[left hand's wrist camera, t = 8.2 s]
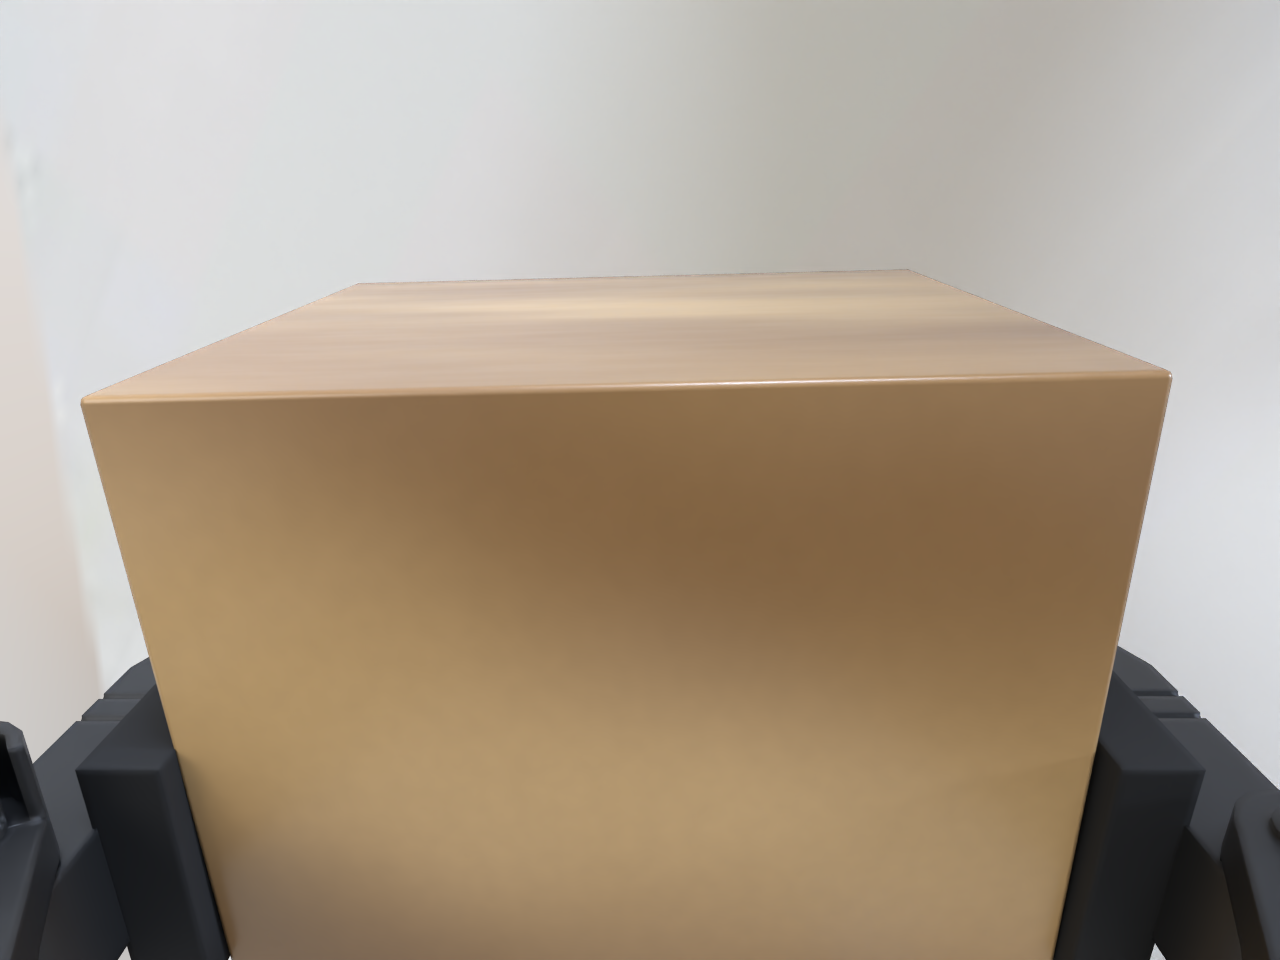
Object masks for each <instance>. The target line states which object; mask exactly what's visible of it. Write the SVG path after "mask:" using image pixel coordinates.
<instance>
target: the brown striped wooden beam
mask: <svg viewBox="0 0 1280 960" xmlns="http://www.w3.org/2000/svg"><path fill="white" fill-rule="evenodd" d="M1171 382H1172V374H1171V372H1170V371H1168V370H1165V369H1163V368H1160V367H1157V366H1155V365H1152V364H1150V363H1147V362H1145V361H1142V360H1139V359H1137V358H1134V357H1132V356H1129V355H1127V354H1124V353H1121V352H1119V351H1116V350H1114V349H1111V348H1109V347H1106V346H1103V345H1101V344H1098V343H1096V342H1093V341H1091V340H1088V339H1085V338H1083V337H1080V336H1078V335H1075V334H1073V333H1070V332H1067V331H1065V330H1062V329H1060V328H1057V327H1055V326H1052V325H1049V324H1047V323H1044V322H1042V321H1039V320H1037V319H1034V318H1031V317H1029V316H1026V315H1024V314H1021V313H1019V312H1016V311H1013V310H1011V309H1008V308H1006V307H1003V306H1001V305H998V304H995V303H993V302H990V301H988V300H985V299H983V298H980V297H977V296H975V295H972V294H970V293H967V292H965V291H962V290H959V289H957V288H954V287H952V286H949V285H946V284H944V283H941V282H939V281H936V280H934V279H931V278H928V277H926V276H923V275H921V274H918V273H916V272H913V271H910V270H908V269H905V270H866V271H826V272H787V273H748V274H709V275H670V276H631V277H592V278H553V279H514V280H474V281H435V282H396V283H358V284H356V285H353V286H351V287H348V288H346V289H344V290H341V291H339V292H336V293H334V294H332V295H329V296H327V297H324V298H322V299H319V300H317V301H315V302H312V303H310V304H307V305H305V306H303V307H300V308H298V309H295V310H293V311H290V312H288V313H286V314H283V315H281V316H278V317H276V318H274V319H271V320H269V321H266V322H264V323H261V324H259V325H257V326H254V327H252V328H249V329H247V330H245V331H242V332H240V333H237V334H235V335H232V336H230V337H228V338H225V339H223V340H220V341H218V342H215V343H213V344H211V345H208V346H206V347H203V348H201V349H199V350H196V351H194V352H191V353H189V354H186V355H184V356H182V357H179V358H177V359H174V360H172V361H170V362H167V363H165V364H162V365H160V366H157V367H155V368H153V369H150V370H148V371H145V372H143V373H141V374H138V375H136V376H133V377H131V378H128V379H126V380H124V381H121V382H119V383H116V384H114V385H112V386H109V387H107V388H104V389H102V390H99V391H97V392H95V393H92V394H90V395H87V396H85V397H83V398H82V399H81V408H82V412H83V415H84V419H85V423H86V426H87V430H88V434H89V437H90V441H91V445H92V448H93V452H94V456H95V460H96V463H97V467H98V471H99V474H100V478H101V482H102V485H103V489H104V493H105V496H106V500H107V504H108V507H109V511H110V515H111V518H112V522H113V526H114V529H115V533H116V537H117V540H118V544H119V548H120V551H121V555H122V559H123V562H124V566H125V570H126V573H127V577H128V581H129V584H130V588H131V592H132V596H133V599H134V603H135V607H136V610H137V614H138V618H139V621H140V625H141V629H142V632H143V636H144V640H145V643H146V647H147V651H148V654H149V658H150V662H151V665H152V669H153V673H154V676H155V680H156V684H157V687H158V691H159V695H160V698H161V702H162V706H163V709H164V713H165V717H166V720H167V724H168V728H169V732H170V735H171V739H172V743H173V746H174V749H175V750H176V754H177V758H178V762H179V766H180V770H181V774H182V778H183V782H184V786H185V790H186V794H187V798H188V801H189V805H190V809H191V812H192V816H193V820H194V823H195V827H196V831H197V834H198V838H199V842H200V845H201V849H202V853H203V856H204V860H205V864H206V867H207V871H208V875H209V879H210V882H211V886H212V890H213V893H214V897H215V901H216V904H217V908H218V912H219V915H220V919H221V923H222V926H223V930H224V934H225V937H226V941H227V945H228V948H229V952H230V956H231V959H232V960H1053V957H1054V952H1055V947H1056V942H1057V937H1058V932H1059V927H1060V923H1061V918H1062V913H1063V908H1064V903H1065V898H1066V893H1067V889H1068V884H1069V879H1070V874H1071V869H1072V864H1073V859H1074V854H1075V850H1076V845H1077V840H1078V835H1079V830H1080V825H1081V820H1082V816H1083V811H1084V806H1085V801H1086V796H1087V791H1088V786H1089V781H1090V777H1091V772H1092V767H1093V762H1094V757H1095V752H1096V747H1097V743H1098V738H1099V733H1100V728H1101V723H1102V718H1103V713H1104V708H1105V704H1106V699H1107V694H1108V689H1109V684H1110V679H1111V674H1112V670H1113V665H1114V660H1115V655H1116V650H1117V645H1118V640H1119V636H1120V631H1121V626H1122V621H1123V616H1124V611H1125V606H1126V601H1127V597H1128V592H1129V587H1130V582H1131V577H1132V572H1133V567H1134V563H1135V558H1136V553H1137V548H1138V543H1139V538H1140V533H1141V528H1142V524H1143V519H1144V514H1145V509H1146V504H1147V499H1148V494H1149V490H1150V485H1151V480H1152V475H1153V470H1154V465H1155V460H1156V455H1157V451H1158V446H1159V441H1160V436H1161V431H1162V426H1163V421H1164V417H1165V412H1166V407H1167V402H1168V397H1169V392H1170V387H1171Z"/></svg>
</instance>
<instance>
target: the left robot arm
mask: <svg viewBox="0 0 1280 960" xmlns="http://www.w3.org/2000/svg"><path fill="white" fill-rule="evenodd" d="M1154 944H1156V945H1157V947H1158V948H1159V950H1160V951H1161V953H1162V954H1163V956H1164V957H1165V959H1166V960H1280V790H1278V789H1277V788H1276V787H1275V786H1274V785H1273V784H1272V783H1271V782H1270V781H1269V780H1268V779H1267V778H1266V777H1265V776H1264V775H1263V774H1262V773H1261V772H1260V771H1259V770H1258V769H1257V768H1256V767H1255V766H1254V765H1253V764H1252V763H1251V762H1250V761H1249V760H1248V759H1247V758H1246V757H1245V756H1244V755H1243V754H1242V753H1241V752H1240V751H1239V750H1238V749H1237V748H1236V747H1234V746H1233V745H1232V744H1231V743H1230V742H1229V741H1228V740H1227V739H1226V738H1225V737H1224V736H1223V735H1222V734H1221V733H1220V732H1219V731H1218V730H1217V729H1216V728H1215V727H1214V726H1213V725H1212V724H1211V723H1210V722H1209V721H1208V720H1207V719H1206V718H1201V717H1200V712H1199V711H1198V710H1197V709H1196V708H1195V707H1194V706H1193V705H1192V704H1191V703H1190V702H1189V701H1188V700H1186V699H1185V698H1184V697H1183V696H1178V691H1177V690H1176V689H1175V688H1174V687H1173V686H1172V685H1171V684H1170V683H1169V682H1168V681H1167V680H1166V679H1165V678H1164V677H1163V676H1162V675H1161V674H1160V673H1159V672H1158V671H1157V670H1156V669H1155V668H1154V667H1153V666H1152V665H1150V664H1148V663H1147V662H1145V661H1143V660H1142V659H1140V658H1138V657H1136V656H1135V655H1133V654H1131V653H1129V652H1128V651H1126V650H1124V649H1122V648H1121V647H1119V646H1117V650H1116V655H1115V660H1114V665H1113V670H1112V674H1111V679H1110V684H1109V689H1108V694H1107V699H1106V704H1105V708H1104V713H1103V718H1102V723H1101V728H1100V733H1099V738H1098V743H1097V747H1096V752H1095V757H1094V762H1093V767H1092V772H1091V777H1090V781H1089V786H1088V791H1087V796H1086V801H1085V806H1084V811H1083V816H1082V820H1081V825H1080V830H1079V835H1078V840H1077V845H1076V850H1075V854H1074V859H1073V864H1072V869H1071V874H1070V879H1069V884H1068V889H1067V893H1066V898H1065V903H1064V908H1063V913H1062V918H1061V923H1060V927H1059V932H1058V937H1057V942H1056V947H1055V952H1054V957H1053V960H1150V957H1151V954H1152V950H1153V947H1154ZM126 946H127V947H128V951H129V954H130V957H131V960H228V959H229V957H230V952H229V948H228V945H227V941H226V937H225V934H224V930H223V926H222V923H221V919H220V915H219V912H218V908H217V904H216V901H215V897H214V893H213V890H212V886H211V882H210V879H209V875H208V871H207V867H206V864H205V860H204V856H203V853H202V849H201V845H200V842H199V838H198V834H197V831H196V827H195V823H194V820H193V816H192V812H191V809H190V805H189V801H188V798H187V794H186V790H185V786H184V782H183V778H182V774H181V770H180V766H179V762H178V758H177V754H176V750H175V749H174V746H173V743H172V739H171V735H170V732H169V728H168V724H167V720H166V717H165V713H164V709H163V706H162V702H161V698H160V695H159V691H158V687H157V684H156V680H155V676H154V673H153V669H152V665H151V662H150V658H149V657H148V658H147V659H145V660H143V661H141V662H140V663H138V664H136V665H134V666H133V667H131V668H130V669H129V670H128V671H127V672H126V673H125V674H124V675H123V676H122V677H121V678H120V679H119V680H118V681H116V682H115V683H114V684H113V685H112V686H111V687H110V688H109V689H108V690H107V691H106V692H105V693H104V698H103V699H98V700H97V701H96V702H95V703H94V704H93V705H92V706H91V707H90V708H89V709H88V710H87V711H86V712H85V713H84V714H83V715H82V720H81V721H76V722H75V723H74V724H73V725H72V726H71V727H70V728H69V729H68V730H67V731H66V732H65V733H64V734H63V735H62V736H61V737H60V738H59V739H58V740H57V741H56V742H55V743H54V744H53V745H52V746H51V747H50V748H49V749H48V750H47V751H45V752H44V753H43V754H42V755H41V756H40V757H39V758H38V759H37V760H36V761H35V762H34V763H33V764H32V760H31V757H30V754H29V751H28V748H27V745H26V742H25V738H24V735H23V732H22V731H21V730H20V729H18V728H17V727H15V726H14V725H12V724H10V723H9V722H2V721H0V960H118V959H119V957H120V956H121V954H122V953H123V951H124V949H125V948H126Z"/></svg>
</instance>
